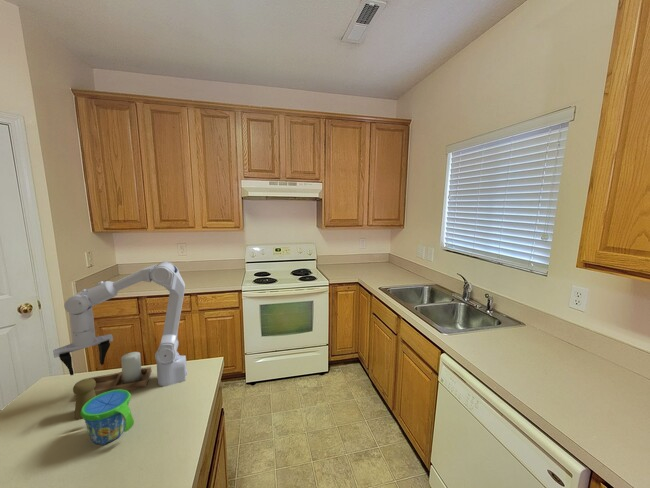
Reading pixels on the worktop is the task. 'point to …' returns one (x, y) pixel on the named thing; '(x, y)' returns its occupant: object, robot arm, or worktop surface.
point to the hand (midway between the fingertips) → (87, 368)
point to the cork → (83, 394)
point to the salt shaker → (131, 367)
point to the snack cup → (108, 416)
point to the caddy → (119, 382)
